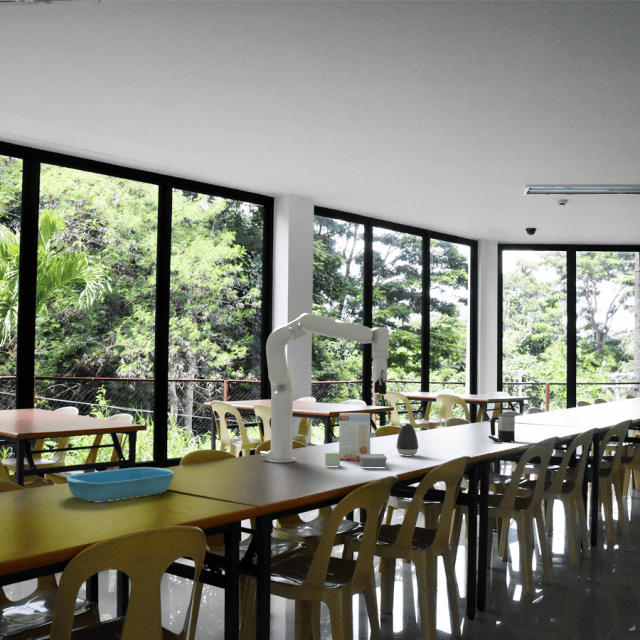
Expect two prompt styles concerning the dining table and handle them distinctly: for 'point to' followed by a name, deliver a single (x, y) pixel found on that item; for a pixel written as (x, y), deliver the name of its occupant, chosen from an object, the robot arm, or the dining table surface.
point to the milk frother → (503, 428)
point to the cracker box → (354, 435)
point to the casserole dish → (120, 483)
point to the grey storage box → (373, 460)
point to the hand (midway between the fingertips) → (380, 393)
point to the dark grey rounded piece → (407, 440)
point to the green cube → (332, 458)
